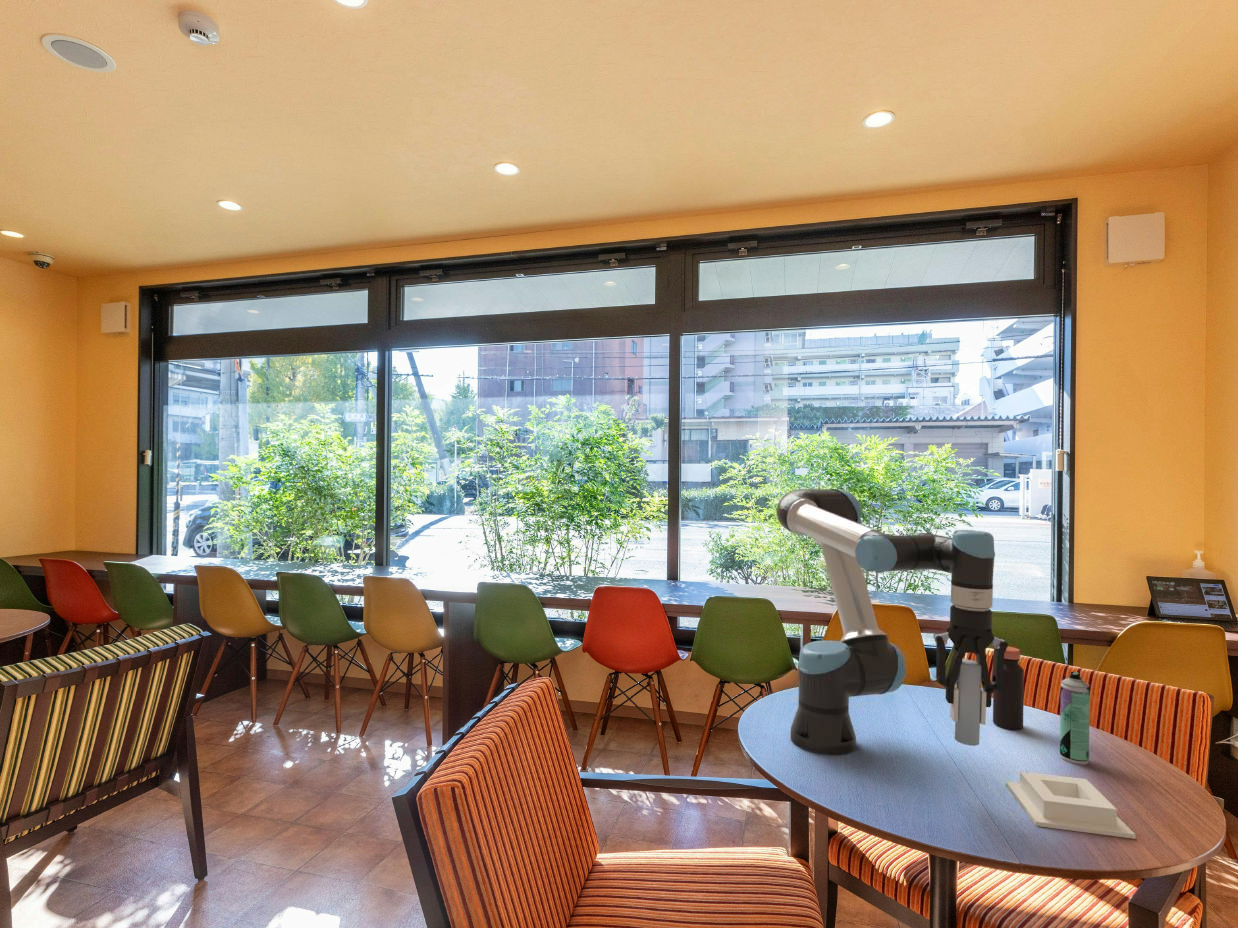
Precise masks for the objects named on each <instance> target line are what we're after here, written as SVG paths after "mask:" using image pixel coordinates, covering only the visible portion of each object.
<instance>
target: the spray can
mask: <svg viewBox="0 0 1238 928" xmlns="http://www.w3.org/2000/svg"><path fill="white" fill-rule="evenodd" d="M1080 675H1081V673H1080V672H1078V671H1070V675H1069V676H1067V678H1063V679H1062V680H1061V683H1060V715H1059V716H1060V718H1059V719H1060V720H1059V721H1060V722H1059V723H1060V725H1059V726H1060V727H1059V730H1060V731H1059V757H1060V759H1062V760H1064V761H1065V762H1068V763H1071V764H1075V765H1080V766H1081V765H1085V766H1086V765H1088V764H1090V710H1091V709H1090V707H1091V705H1090V704H1091V701H1090V700H1091V699H1090V698H1091V688H1090V684H1089V683H1087V682H1085V681H1084V679H1083V678H1082V677H1081V676H1080Z"/></svg>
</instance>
